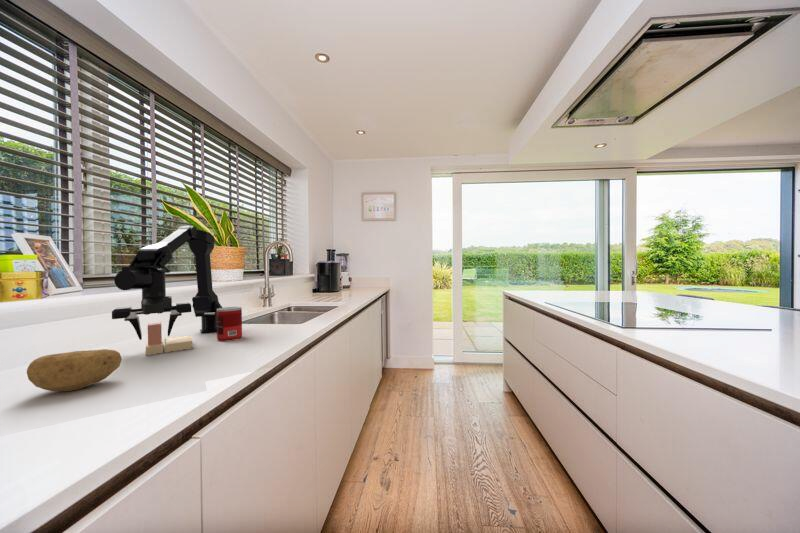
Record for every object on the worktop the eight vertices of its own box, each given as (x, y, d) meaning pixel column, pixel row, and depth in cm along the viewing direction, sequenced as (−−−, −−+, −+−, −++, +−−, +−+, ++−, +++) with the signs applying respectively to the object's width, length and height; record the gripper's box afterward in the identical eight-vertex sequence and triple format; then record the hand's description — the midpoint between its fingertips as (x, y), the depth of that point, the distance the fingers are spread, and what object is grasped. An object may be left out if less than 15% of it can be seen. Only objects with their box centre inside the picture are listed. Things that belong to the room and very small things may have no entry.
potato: (119, 386, 64) (118, 349, 64) (17, 405, 56) (16, 363, 56) (125, 374, 72) (125, 341, 72) (37, 389, 64) (36, 352, 64)
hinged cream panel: (164, 346, 98) (164, 338, 98) (190, 342, 103) (190, 334, 103) (164, 352, 90) (164, 344, 90) (192, 348, 95) (192, 340, 95)
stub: (147, 348, 96) (147, 322, 96) (163, 346, 98) (162, 320, 98) (145, 355, 88) (145, 327, 88) (163, 352, 90) (162, 325, 90)
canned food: (246, 336, 111) (246, 306, 111) (232, 341, 103) (232, 309, 103) (227, 336, 112) (226, 306, 112) (212, 341, 104) (211, 309, 104)
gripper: (108, 291, 81) (109, 348, 81) (192, 287, 92) (193, 337, 92) (113, 289, 90) (115, 341, 90) (189, 285, 101) (190, 331, 101)
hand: (154, 337), depth 93 cm, fingers open, 6 cm apart
